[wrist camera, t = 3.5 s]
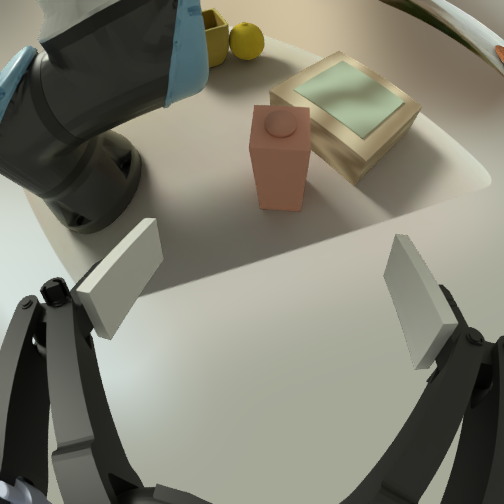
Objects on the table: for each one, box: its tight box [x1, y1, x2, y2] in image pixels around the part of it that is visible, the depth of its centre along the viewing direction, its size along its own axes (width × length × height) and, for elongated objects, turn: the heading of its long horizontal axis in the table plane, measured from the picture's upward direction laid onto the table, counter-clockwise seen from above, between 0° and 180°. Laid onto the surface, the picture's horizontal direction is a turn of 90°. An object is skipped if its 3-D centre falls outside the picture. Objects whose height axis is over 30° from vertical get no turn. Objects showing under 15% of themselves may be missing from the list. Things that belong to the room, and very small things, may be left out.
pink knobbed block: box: [249, 105, 311, 211], centre depth 25 cm, size 4×4×13 cm
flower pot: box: [201, 8, 229, 68], centre depth 34 cm, size 9×9×9 cm
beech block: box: [269, 51, 422, 186], centre depth 30 cm, size 14×14×6 cm
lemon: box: [229, 22, 264, 60], centre depth 34 cm, size 6×6×8 cm
